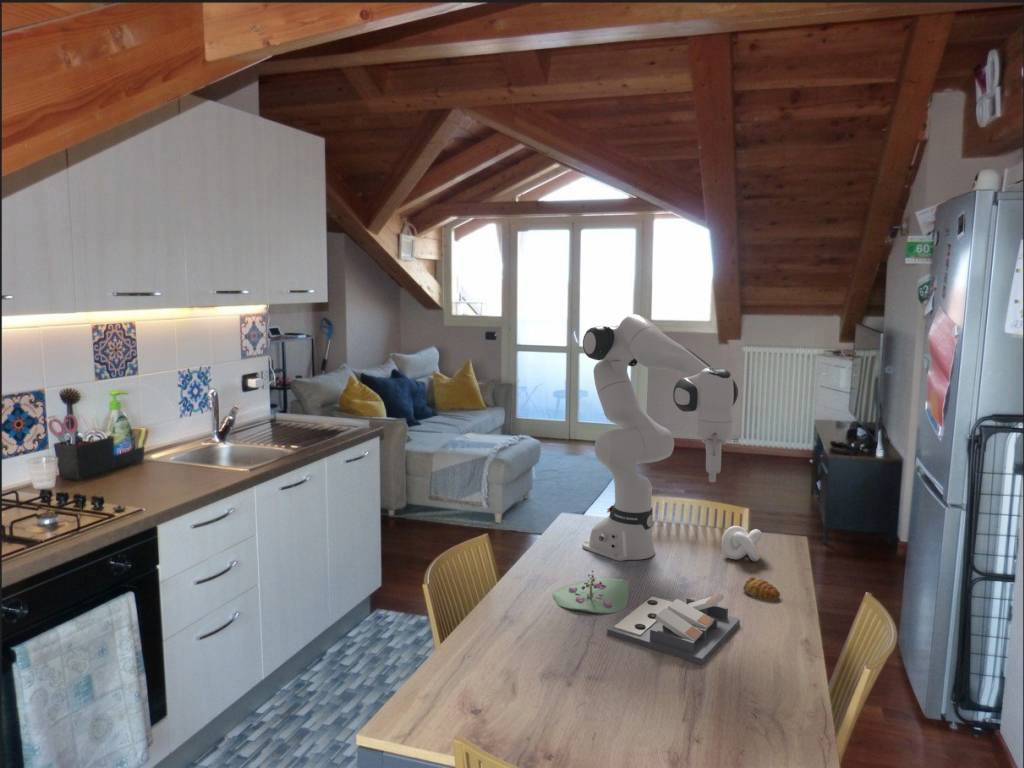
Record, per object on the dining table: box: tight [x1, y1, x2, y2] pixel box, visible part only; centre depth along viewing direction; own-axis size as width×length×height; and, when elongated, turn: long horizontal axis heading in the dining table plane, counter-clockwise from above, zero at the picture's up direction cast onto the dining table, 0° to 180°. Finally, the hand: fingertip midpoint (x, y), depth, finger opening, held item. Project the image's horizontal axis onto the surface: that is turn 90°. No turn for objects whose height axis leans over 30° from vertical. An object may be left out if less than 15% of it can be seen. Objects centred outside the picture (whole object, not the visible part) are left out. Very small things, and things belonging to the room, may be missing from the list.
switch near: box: [655, 608, 702, 641], centre depth 181 cm, size 10×5×1 cm, turn 55°
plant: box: [552, 569, 629, 615], centre depth 209 cm, size 25×21×9 cm
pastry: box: [743, 576, 781, 602], centre depth 209 cm, size 9×7×4 cm
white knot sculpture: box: [721, 525, 763, 562], centre depth 234 cm, size 11×12×9 cm
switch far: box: [687, 593, 725, 610], centre depth 192 cm, size 10×5×1 cm, turn 53°
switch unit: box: [606, 594, 741, 666], centre depth 189 cm, size 24×24×4 cm
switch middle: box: [668, 598, 714, 630], centre depth 187 cm, size 10×5×1 cm, turn 55°
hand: (712, 480), depth 207 cm, fingers closed
